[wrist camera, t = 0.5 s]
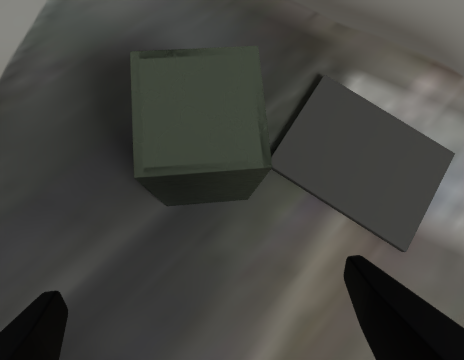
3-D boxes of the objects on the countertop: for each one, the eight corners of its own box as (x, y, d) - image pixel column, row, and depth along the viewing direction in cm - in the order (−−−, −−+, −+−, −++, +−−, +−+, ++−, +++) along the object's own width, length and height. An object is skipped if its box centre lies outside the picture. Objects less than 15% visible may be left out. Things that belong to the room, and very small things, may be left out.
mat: (450, 155, 26) (455, 153, 25) (402, 251, 24) (405, 252, 23) (322, 77, 26) (324, 74, 26) (266, 165, 24) (267, 163, 24)
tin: (247, 199, 24) (272, 167, 14) (166, 206, 23) (133, 177, 14) (239, 124, 25) (257, 45, 15) (162, 129, 24) (130, 51, 15)
